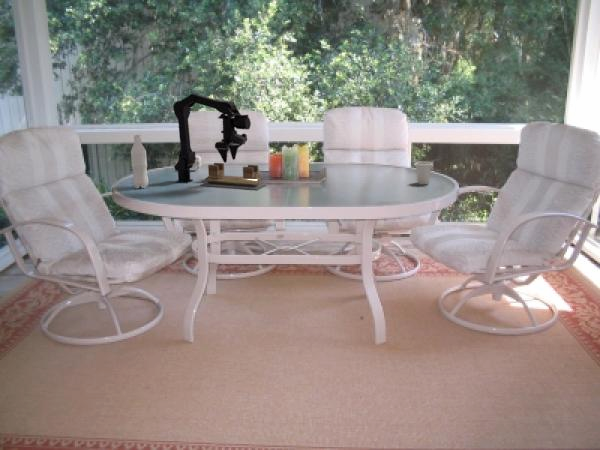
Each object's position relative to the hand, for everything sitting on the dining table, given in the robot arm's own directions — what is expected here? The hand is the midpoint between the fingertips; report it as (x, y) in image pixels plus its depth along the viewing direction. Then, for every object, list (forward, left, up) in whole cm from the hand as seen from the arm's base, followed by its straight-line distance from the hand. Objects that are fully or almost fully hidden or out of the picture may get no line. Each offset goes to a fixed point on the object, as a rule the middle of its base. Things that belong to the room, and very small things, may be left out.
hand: (229, 161), depth 289 cm
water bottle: (-19, +38, -12) cm, 44 cm away
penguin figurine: (+29, +38, -12) cm, 49 cm away
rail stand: (+10, +3, -12) cm, 15 cm away
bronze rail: (-2, -2, -9) cm, 10 cm away
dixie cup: (+35, -88, -12) cm, 95 cm away
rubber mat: (-1, -2, -12) cm, 12 cm away
